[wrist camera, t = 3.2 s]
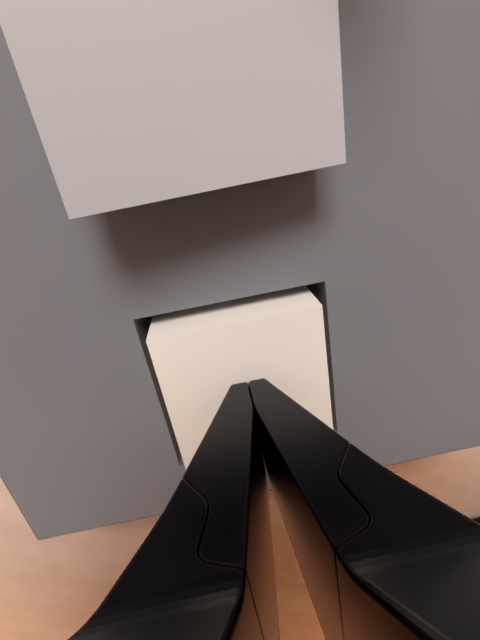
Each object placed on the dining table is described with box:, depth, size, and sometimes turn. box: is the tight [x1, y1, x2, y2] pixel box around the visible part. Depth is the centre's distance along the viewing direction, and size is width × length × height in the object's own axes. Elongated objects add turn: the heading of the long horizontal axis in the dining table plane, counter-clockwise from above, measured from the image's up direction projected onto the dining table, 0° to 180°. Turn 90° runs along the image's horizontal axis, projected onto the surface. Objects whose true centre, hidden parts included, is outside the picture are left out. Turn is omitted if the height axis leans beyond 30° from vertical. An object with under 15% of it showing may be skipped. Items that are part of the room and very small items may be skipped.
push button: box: [146, 285, 333, 469], centre depth 10 cm, size 4×4×3 cm
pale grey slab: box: [0, 0, 346, 219], centre depth 6 cm, size 3×5×1 cm
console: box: [0, 0, 480, 540], centre depth 8 cm, size 20×14×4 cm
